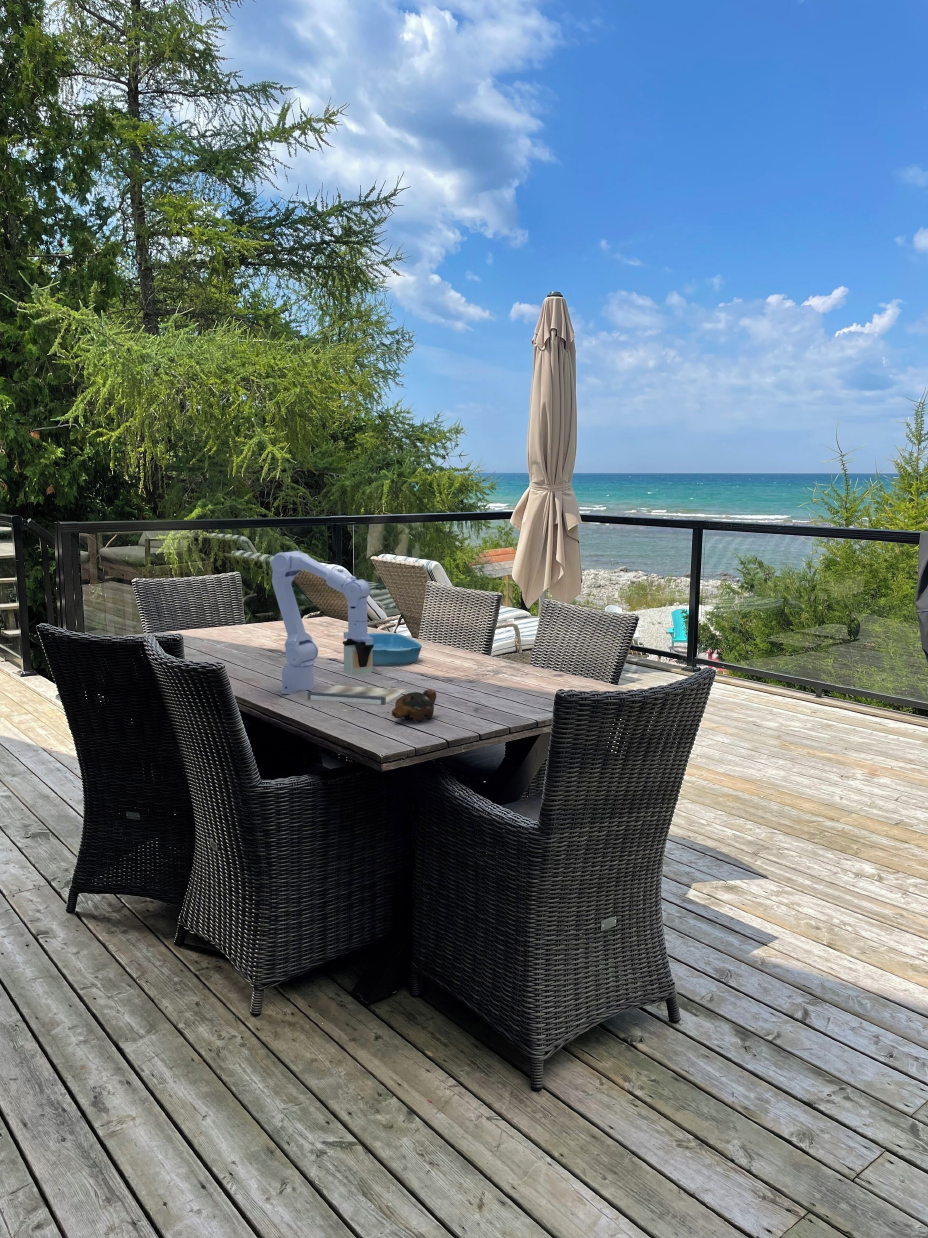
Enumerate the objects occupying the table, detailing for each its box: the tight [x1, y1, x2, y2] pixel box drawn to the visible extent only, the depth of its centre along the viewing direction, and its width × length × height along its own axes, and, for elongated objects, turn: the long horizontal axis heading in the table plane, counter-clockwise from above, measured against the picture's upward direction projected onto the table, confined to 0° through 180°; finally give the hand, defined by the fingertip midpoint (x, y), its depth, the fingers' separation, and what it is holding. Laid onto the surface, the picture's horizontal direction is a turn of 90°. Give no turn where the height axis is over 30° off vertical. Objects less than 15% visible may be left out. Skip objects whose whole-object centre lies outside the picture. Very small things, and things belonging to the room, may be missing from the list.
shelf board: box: [320, 685, 407, 704], centre depth 275 cm, size 24×18×2 cm
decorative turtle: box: [391, 689, 437, 723], centre depth 250 cm, size 10×15×8 cm, turn 138°
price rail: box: [307, 691, 387, 705], centre depth 265 cm, size 24×1×4 cm, turn 75°
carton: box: [343, 645, 374, 676], centre depth 273 cm, size 5×7×8 cm
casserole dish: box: [367, 632, 423, 667], centre depth 339 cm, size 37×22×7 cm, turn 23°
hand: (358, 665), depth 273 cm, fingers closed on carton, 5 cm apart
